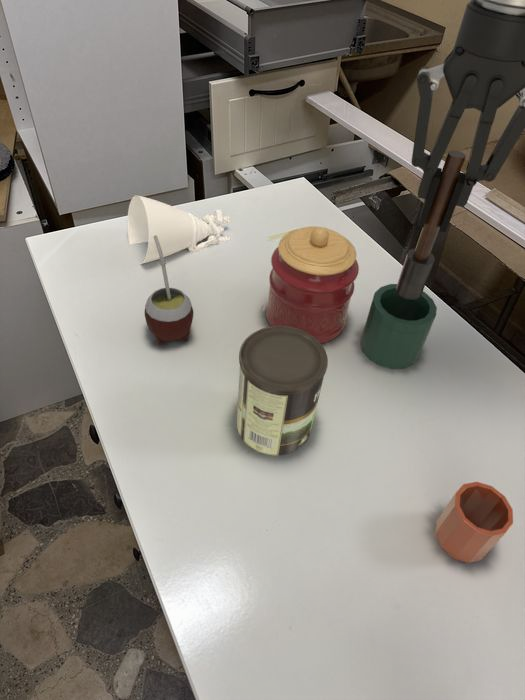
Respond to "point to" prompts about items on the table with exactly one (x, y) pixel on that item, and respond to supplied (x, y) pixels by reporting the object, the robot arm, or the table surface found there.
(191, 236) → the rocket engine
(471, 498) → the holder
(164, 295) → the mate gourd
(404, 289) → the brush
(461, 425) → the table surface
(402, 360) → the jar
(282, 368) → the coffee can
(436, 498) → the table surface
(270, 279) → the kitchen canister
